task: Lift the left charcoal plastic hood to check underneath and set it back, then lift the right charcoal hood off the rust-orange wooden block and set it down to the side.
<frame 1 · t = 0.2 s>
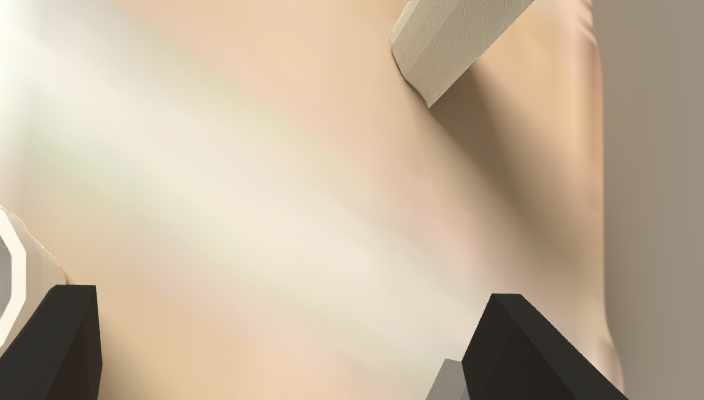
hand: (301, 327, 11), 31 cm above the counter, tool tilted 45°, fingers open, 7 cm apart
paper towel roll: (421, 54, 47), on the counter
foam cup: (15, 293, 38), on the counter
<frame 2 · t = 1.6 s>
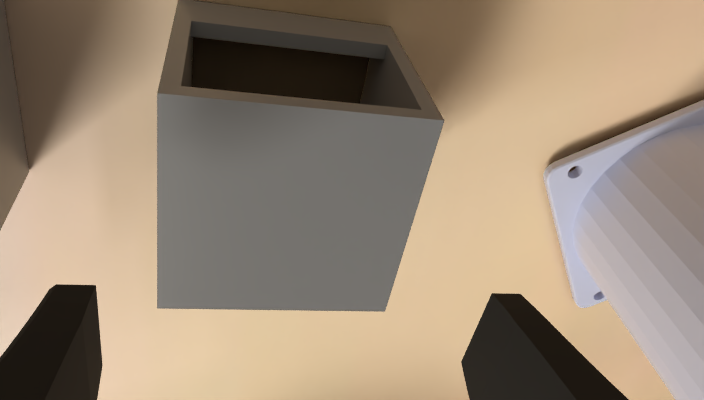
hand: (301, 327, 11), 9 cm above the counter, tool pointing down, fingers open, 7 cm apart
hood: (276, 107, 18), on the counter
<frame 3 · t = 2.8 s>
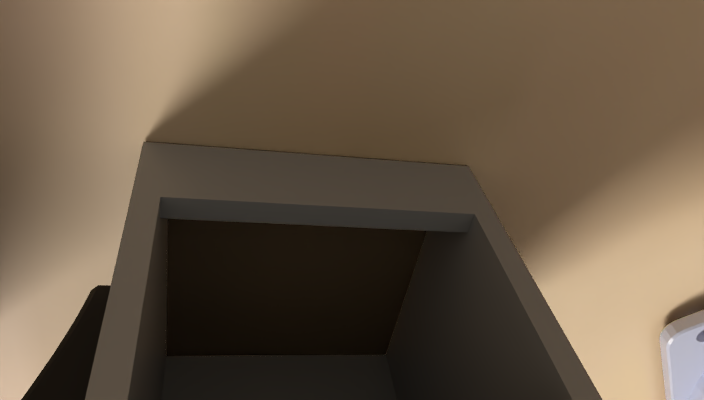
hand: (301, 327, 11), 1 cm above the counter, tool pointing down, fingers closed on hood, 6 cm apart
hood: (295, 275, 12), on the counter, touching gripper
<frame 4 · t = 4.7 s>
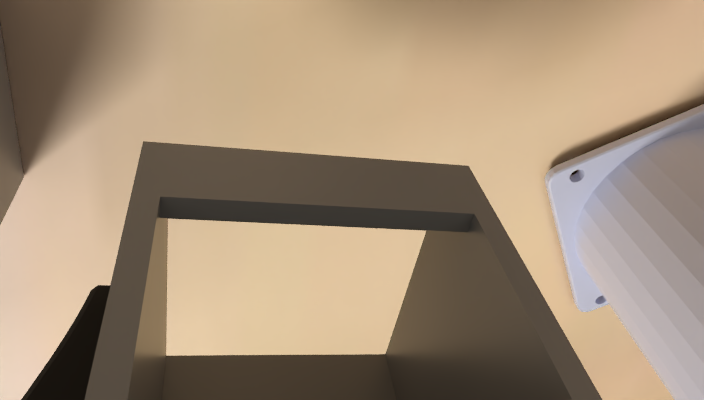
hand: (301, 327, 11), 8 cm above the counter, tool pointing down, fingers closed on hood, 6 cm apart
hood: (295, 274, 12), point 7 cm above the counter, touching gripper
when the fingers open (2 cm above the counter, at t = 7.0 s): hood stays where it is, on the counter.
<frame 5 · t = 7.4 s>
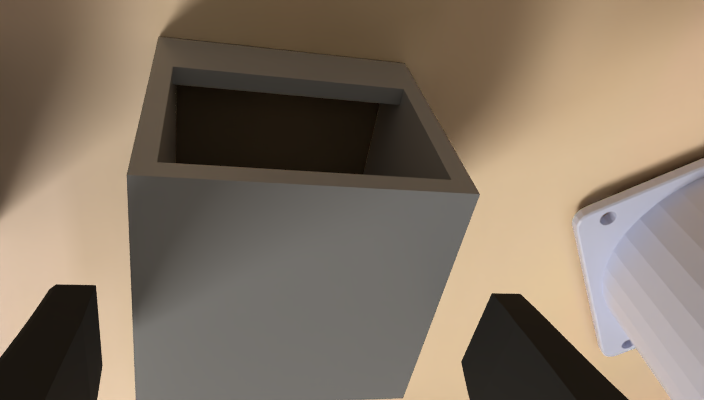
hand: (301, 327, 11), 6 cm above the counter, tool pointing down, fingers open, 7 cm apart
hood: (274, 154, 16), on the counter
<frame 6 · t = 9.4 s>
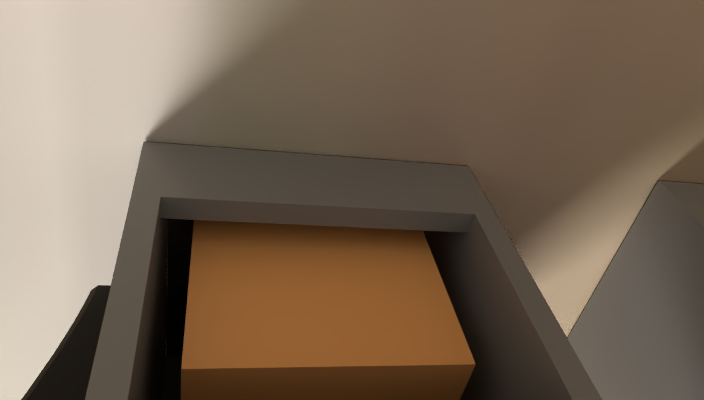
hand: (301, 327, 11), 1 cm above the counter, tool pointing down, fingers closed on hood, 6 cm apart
orange block: (303, 347, 11), in the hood
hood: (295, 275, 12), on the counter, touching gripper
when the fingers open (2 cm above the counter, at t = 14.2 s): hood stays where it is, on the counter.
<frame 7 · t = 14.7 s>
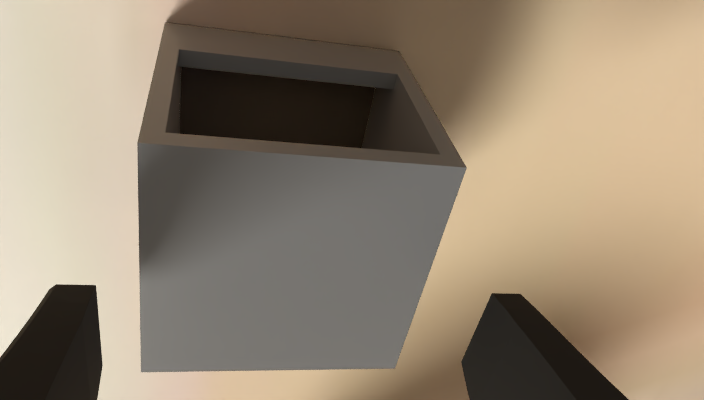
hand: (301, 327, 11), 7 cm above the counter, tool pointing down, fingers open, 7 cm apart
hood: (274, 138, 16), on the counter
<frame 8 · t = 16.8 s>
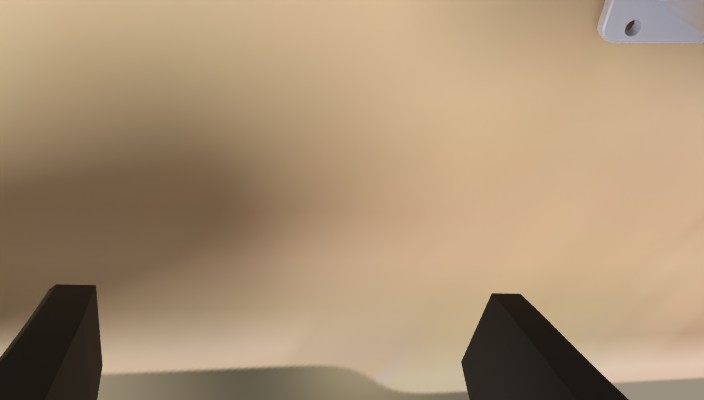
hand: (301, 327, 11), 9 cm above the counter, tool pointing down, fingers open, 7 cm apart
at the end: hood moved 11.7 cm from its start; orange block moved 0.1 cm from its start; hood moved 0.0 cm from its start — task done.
